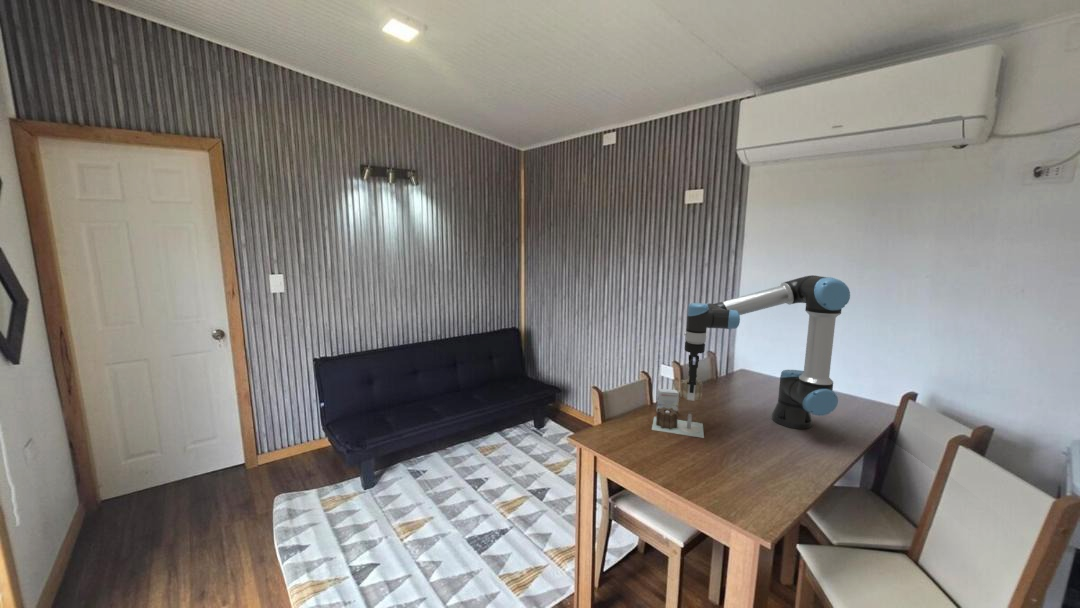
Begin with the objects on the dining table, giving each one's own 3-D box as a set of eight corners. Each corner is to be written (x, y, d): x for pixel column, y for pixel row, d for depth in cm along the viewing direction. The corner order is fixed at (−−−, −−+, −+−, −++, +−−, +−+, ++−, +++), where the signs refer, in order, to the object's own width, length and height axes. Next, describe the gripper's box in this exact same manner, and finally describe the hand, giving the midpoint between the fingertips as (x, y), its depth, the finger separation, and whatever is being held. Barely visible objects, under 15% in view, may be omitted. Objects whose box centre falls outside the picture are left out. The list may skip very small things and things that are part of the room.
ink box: (657, 417, 187) (659, 392, 185) (655, 413, 192) (657, 388, 190) (677, 418, 186) (679, 393, 184) (675, 414, 191) (676, 389, 189)
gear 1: (677, 422, 179) (678, 409, 178) (676, 430, 171) (677, 416, 171) (657, 419, 182) (657, 406, 181) (655, 427, 174) (656, 413, 173)
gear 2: (701, 394, 174) (702, 380, 173) (701, 401, 167) (703, 387, 166) (679, 391, 177) (681, 378, 176) (679, 398, 169) (680, 384, 168)
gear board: (702, 426, 179) (703, 410, 178) (703, 440, 166) (705, 423, 165) (653, 418, 185) (654, 403, 184) (651, 432, 172) (652, 415, 171)
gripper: (685, 335, 179) (681, 386, 183) (685, 347, 160) (680, 403, 163) (704, 337, 177) (699, 388, 180) (706, 349, 157) (701, 406, 161)
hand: (690, 395), depth 172 cm, fingers closed on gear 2, 8 cm apart
